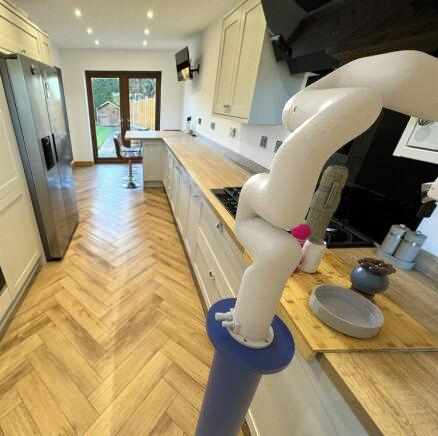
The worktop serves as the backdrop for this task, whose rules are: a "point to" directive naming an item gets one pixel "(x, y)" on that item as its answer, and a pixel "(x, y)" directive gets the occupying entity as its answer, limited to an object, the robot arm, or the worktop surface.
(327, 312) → the bowl
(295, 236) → the pepper mill
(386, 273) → the chocolate capsule cluster
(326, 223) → the moai statue figurine
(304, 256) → the can
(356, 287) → the ball stand
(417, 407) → the worktop surface
